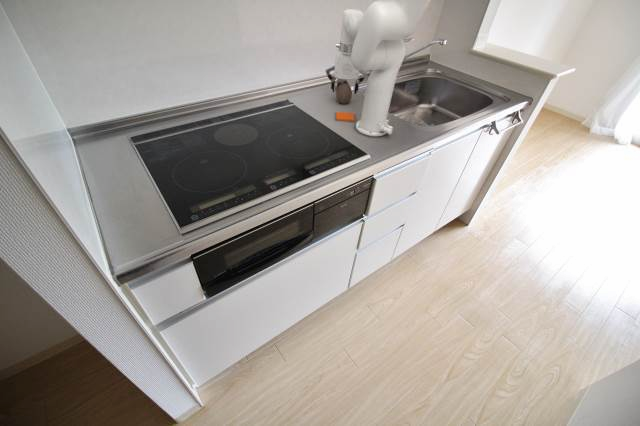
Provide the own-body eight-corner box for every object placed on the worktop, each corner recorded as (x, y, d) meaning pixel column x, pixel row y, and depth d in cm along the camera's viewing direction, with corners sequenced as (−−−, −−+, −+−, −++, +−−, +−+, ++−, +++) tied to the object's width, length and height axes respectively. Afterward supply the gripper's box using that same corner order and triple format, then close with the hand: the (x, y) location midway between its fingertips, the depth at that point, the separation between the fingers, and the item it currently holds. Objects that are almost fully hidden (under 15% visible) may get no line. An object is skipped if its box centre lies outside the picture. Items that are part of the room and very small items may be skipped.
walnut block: (345, 87, 140) (346, 79, 138) (345, 91, 137) (346, 82, 135) (336, 87, 140) (337, 78, 138) (336, 90, 137) (337, 82, 135)
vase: (351, 106, 126) (353, 85, 120) (335, 105, 126) (337, 84, 120) (350, 99, 131) (352, 79, 125) (335, 98, 131) (337, 78, 125)
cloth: (353, 114, 120) (353, 113, 119) (354, 121, 115) (354, 119, 115) (336, 113, 120) (336, 111, 119) (336, 120, 115) (336, 118, 115)
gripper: (326, 48, 110) (324, 93, 122) (371, 52, 110) (364, 96, 122) (327, 43, 116) (324, 86, 128) (370, 46, 116) (363, 90, 128)
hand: (344, 91), depth 125 cm, fingers open, 9 cm apart
